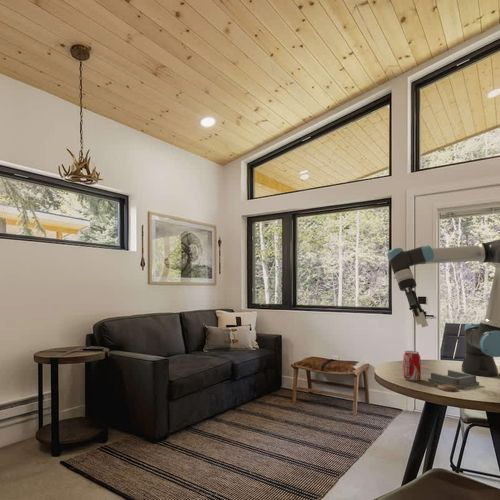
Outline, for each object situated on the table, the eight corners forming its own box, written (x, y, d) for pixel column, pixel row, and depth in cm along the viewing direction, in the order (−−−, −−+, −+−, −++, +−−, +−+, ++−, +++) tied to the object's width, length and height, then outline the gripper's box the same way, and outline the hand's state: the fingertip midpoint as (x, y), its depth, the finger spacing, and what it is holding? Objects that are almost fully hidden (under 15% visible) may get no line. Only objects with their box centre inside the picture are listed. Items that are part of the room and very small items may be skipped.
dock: (448, 377, 180) (448, 369, 180) (479, 385, 167) (479, 376, 168) (428, 381, 173) (427, 372, 173) (458, 389, 161) (458, 379, 161)
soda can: (420, 382, 171) (420, 353, 172) (403, 380, 174) (402, 352, 175) (421, 378, 177) (420, 351, 178) (404, 376, 180) (403, 349, 181)
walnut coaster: (445, 386, 165) (445, 383, 165) (461, 390, 159) (461, 387, 159) (434, 388, 162) (434, 385, 162) (449, 392, 156) (449, 389, 156)
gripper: (402, 287, 195) (418, 329, 187) (391, 278, 175) (409, 325, 167) (418, 282, 192) (435, 325, 184) (408, 272, 172) (427, 319, 163)
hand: (423, 325), depth 175 cm, fingers open, 13 cm apart
